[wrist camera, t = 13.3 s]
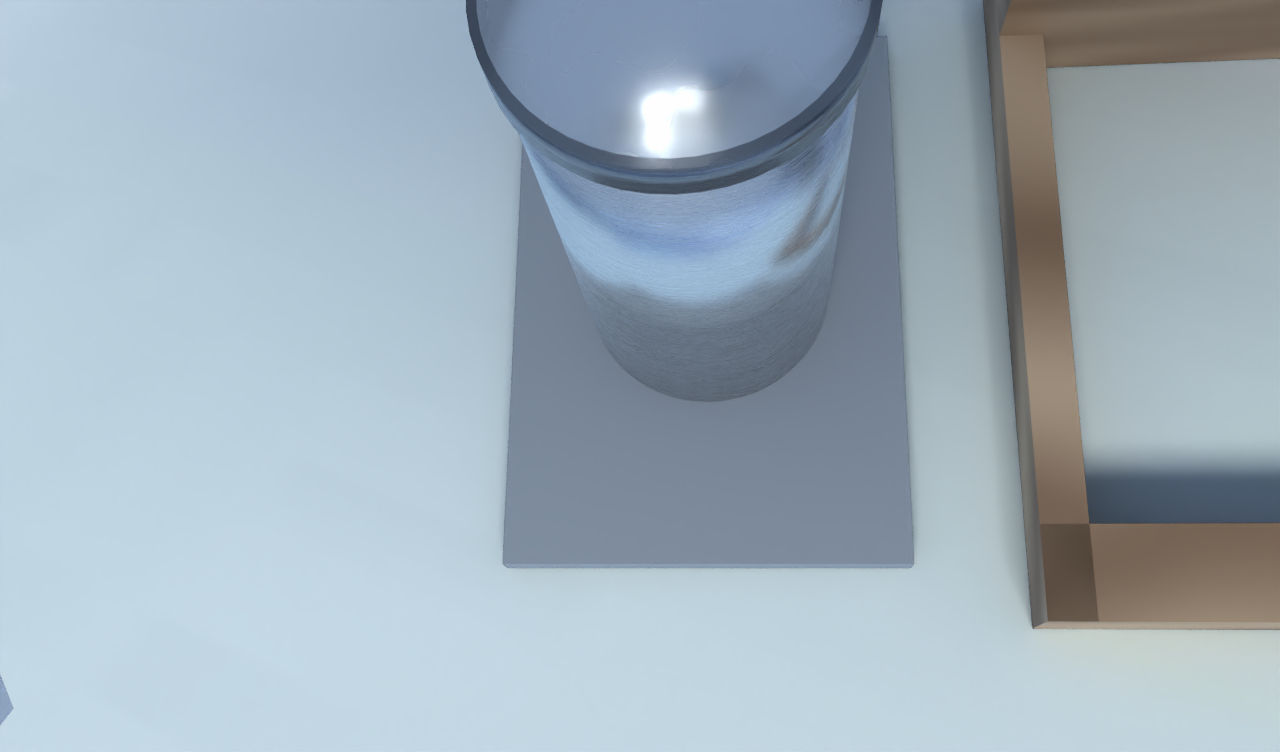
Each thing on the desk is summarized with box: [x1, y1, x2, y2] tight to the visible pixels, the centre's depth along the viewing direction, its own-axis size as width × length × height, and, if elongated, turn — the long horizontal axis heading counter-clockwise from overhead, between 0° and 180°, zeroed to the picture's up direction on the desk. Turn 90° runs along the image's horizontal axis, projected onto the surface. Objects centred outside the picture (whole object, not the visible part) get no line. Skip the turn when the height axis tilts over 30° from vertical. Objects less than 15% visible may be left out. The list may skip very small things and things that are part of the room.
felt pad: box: [503, 36, 914, 568], centre depth 29 cm, size 13×9×1 cm
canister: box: [466, 0, 883, 402], centre depth 23 cm, size 6×6×12 cm
